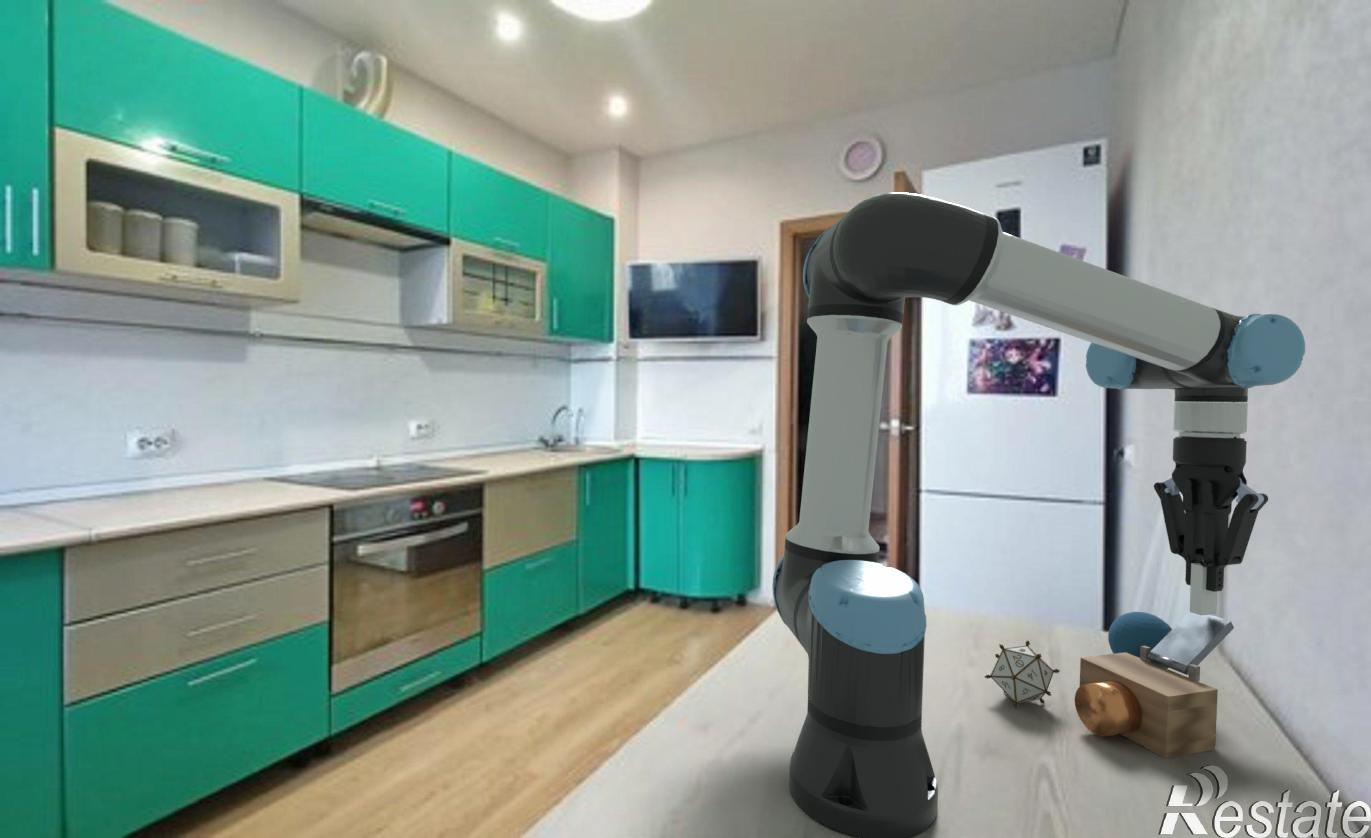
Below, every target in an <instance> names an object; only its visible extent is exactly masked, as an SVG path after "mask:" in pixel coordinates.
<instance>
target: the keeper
mask: <svg viewBox="0 0 1371 838" xmlns="http://www.w3.org/2000/svg"><path fill="white" fill-rule="evenodd" d="M1234 629H1235V626H1234V624H1233V622H1232V620H1230V619H1225V618H1222V617H1219V616H1217V615H1214V614H1211V615H1202V616H1201V615H1198V614H1195V613H1191V612H1190V611H1189V612H1188V613H1187V614H1186V615H1185V616H1184V617H1183V618H1182V619H1181V620H1180V621H1179V622H1178V623H1177V624H1176V625H1175V626H1174V627H1173V628H1172V630H1171V631H1170V632H1169V633H1168V634H1167V635H1166V636H1165V637H1164V638H1163V639H1162V640H1161V641H1160V642H1159V643H1158V644H1157V645H1156V646H1155V647H1154V648H1153V649H1152V650H1151V651H1150V652H1149V654H1148V659H1149V660H1151V661H1153V662H1156V663H1158V664H1161V665H1163V666H1166V667H1168V669H1170V670H1172V671H1175V672H1177V673H1178V672H1179V673H1181V674H1182V675H1183V674H1184V675H1185V676H1188V675H1189V665H1191V664H1194V665H1197V666H1199V665H1200V664H1201V663H1202V662H1203V661H1204V659H1206V657H1208V655H1210V653H1211V652H1213V651H1214V649H1216V647H1217V646H1218V645H1220V643H1221V642H1222V641H1223V640H1225V638H1226V637H1227V636H1228V635H1229V634H1230V633H1231V632H1232V631H1233V630H1234Z"/></svg>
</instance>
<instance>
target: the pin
mask: <svg viewBox="0 0 1371 838" xmlns="http://www.w3.org/2000/svg"><path fill="white" fill-rule="evenodd" d="M1074 707H1075V709H1076V710H1075V711H1076V714H1077V716H1078V717H1079V720H1080V721H1081V722H1082V724H1083V725H1084V727H1086V728H1087V730H1089V731H1090V732H1091V733H1093V734H1094V735H1097V736H1100V737H1109V736H1115V735H1122V733H1128V732H1133V731H1135V730H1137V729H1138V728H1139V727H1140V725H1141V722H1142V710H1141V706H1140V704H1139V701H1138V699H1137V698H1136V696H1135V695H1134V693H1133V692H1132V691H1131V690H1130V689H1129V688H1128V687H1127V686H1125V685H1124V684H1122V683H1120V682H1117V681H1106V682H1099V683H1091V684H1085V685H1082V686H1080V685H1079V686H1078V688H1077V689H1076V691H1075V695H1074Z"/></svg>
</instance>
